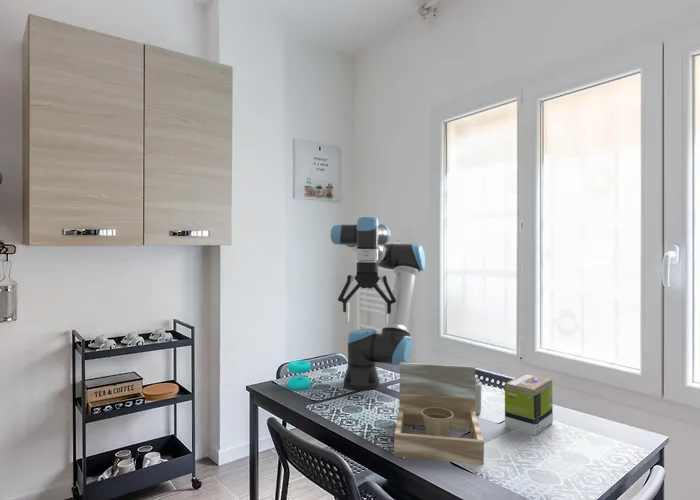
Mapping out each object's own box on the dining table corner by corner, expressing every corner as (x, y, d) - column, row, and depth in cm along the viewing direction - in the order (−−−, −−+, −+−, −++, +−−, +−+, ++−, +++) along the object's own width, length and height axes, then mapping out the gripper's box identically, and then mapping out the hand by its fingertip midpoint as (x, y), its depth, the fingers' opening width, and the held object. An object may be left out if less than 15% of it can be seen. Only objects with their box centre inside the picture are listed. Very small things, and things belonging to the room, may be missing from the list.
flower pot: (450, 435, 137) (451, 407, 136) (455, 449, 127) (455, 419, 127) (420, 433, 138) (420, 406, 137) (422, 447, 128) (422, 418, 128)
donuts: (308, 366, 176) (284, 365, 178) (308, 391, 177) (283, 390, 178) (313, 360, 186) (290, 359, 188) (313, 383, 186) (290, 382, 188)
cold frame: (399, 422, 146) (400, 362, 146) (474, 428, 142) (474, 366, 142) (394, 456, 123) (394, 384, 122) (483, 464, 119) (484, 390, 118)
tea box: (523, 415, 154) (524, 372, 154) (553, 423, 147) (554, 379, 147) (503, 427, 143) (504, 381, 143) (534, 437, 136) (535, 389, 136)
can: (477, 417, 151) (478, 382, 151) (456, 413, 155) (456, 379, 155) (483, 411, 157) (483, 377, 157) (462, 406, 161) (463, 374, 161)
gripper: (330, 261, 152) (329, 322, 152) (402, 262, 148) (402, 325, 148) (334, 260, 160) (334, 319, 160) (403, 261, 155) (403, 321, 155)
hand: (366, 322), depth 154 cm, fingers open, 13 cm apart
